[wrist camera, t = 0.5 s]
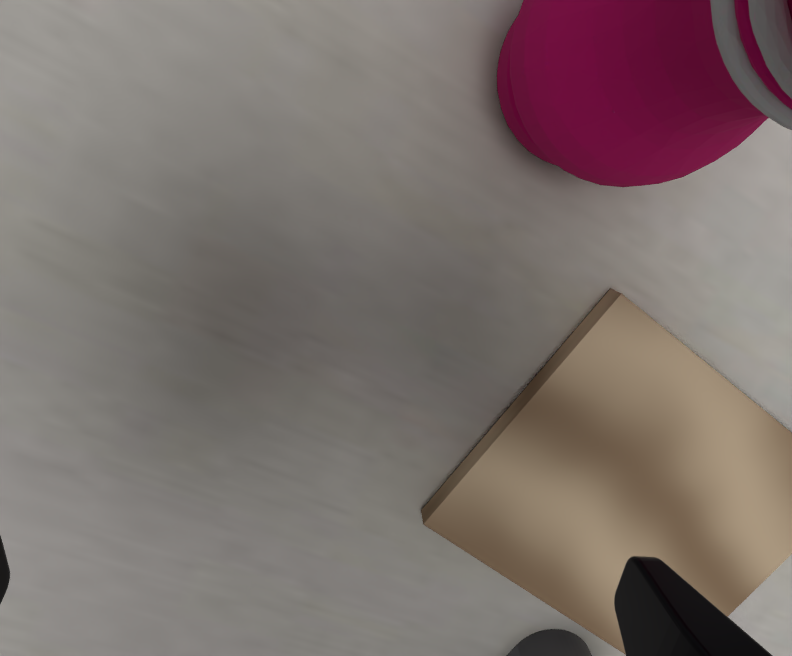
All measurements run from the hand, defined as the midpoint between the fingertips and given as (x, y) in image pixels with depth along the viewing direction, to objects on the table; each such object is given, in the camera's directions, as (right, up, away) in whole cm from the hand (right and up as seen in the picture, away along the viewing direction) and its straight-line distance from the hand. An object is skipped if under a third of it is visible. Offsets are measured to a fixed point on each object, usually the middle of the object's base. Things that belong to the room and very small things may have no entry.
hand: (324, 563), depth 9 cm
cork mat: (+11, -4, +17) cm, 21 cm away
